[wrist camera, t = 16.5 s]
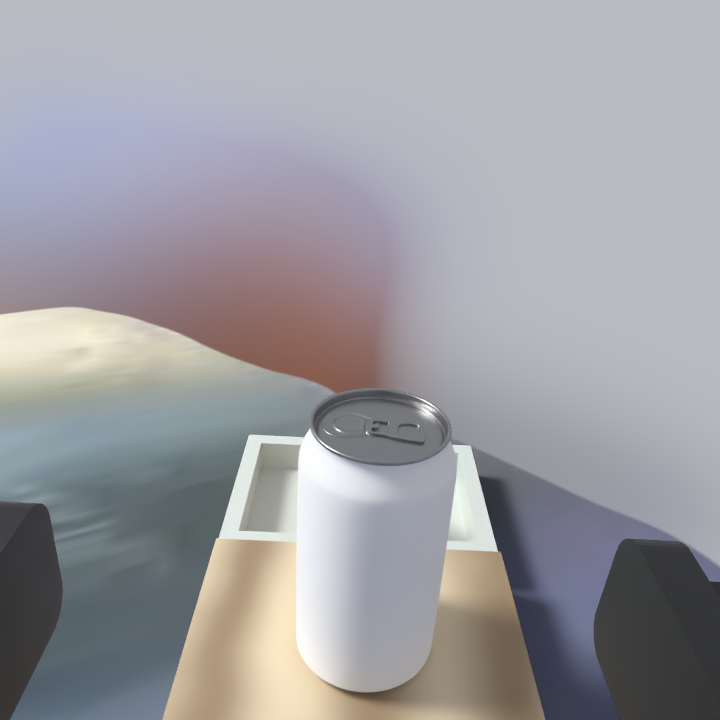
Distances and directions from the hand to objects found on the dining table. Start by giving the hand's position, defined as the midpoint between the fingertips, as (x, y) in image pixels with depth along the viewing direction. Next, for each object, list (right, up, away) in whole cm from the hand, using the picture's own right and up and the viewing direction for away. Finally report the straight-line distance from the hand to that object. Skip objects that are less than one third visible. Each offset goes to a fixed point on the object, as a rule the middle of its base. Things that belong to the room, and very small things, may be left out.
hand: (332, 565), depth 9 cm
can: (+1, -10, +22) cm, 24 cm away
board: (0, -13, +23) cm, 27 cm away
